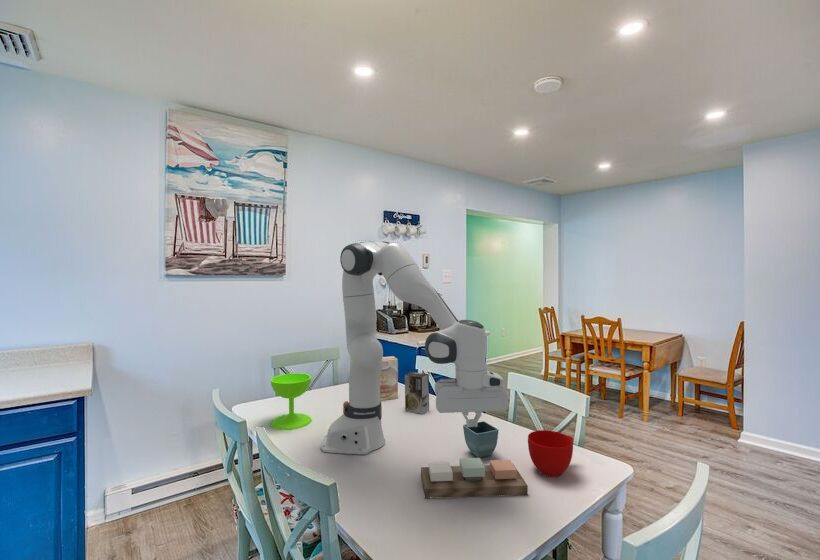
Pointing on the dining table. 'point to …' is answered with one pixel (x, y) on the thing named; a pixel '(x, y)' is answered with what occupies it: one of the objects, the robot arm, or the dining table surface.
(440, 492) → the button board
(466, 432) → the flower pot
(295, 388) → the wineglass
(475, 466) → the sage tile
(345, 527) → the dining table surface
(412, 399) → the coffee box
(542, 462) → the ceramic cup
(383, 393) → the coffeecake box
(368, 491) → the dining table surface
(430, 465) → the white square block
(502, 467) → the pink square block
